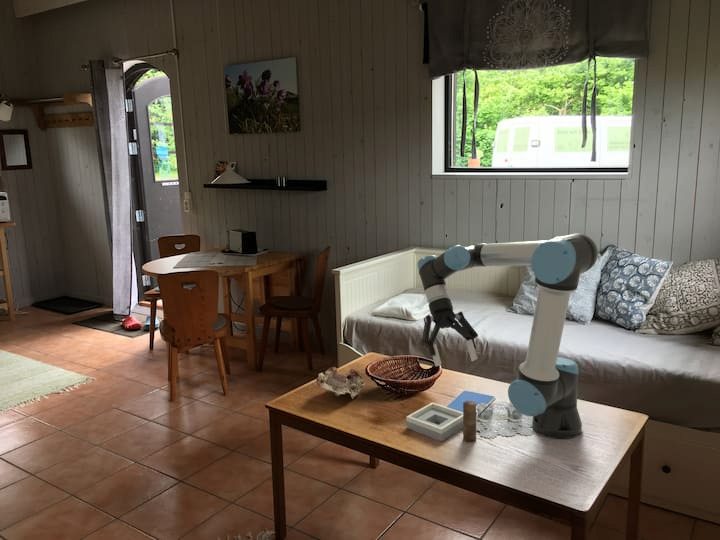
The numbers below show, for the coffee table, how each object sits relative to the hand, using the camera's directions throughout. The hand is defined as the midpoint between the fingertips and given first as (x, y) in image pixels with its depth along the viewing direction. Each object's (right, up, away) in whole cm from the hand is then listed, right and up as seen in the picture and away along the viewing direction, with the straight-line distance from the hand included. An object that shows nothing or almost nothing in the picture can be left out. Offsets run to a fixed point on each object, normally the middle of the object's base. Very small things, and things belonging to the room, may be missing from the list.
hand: (456, 362), depth 194 cm
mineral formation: (-38, -17, +32) cm, 53 cm away
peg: (+3, -23, -4) cm, 24 cm away
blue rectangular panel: (+8, -19, +20) cm, 28 cm away
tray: (-6, -22, +5) cm, 23 cm away
